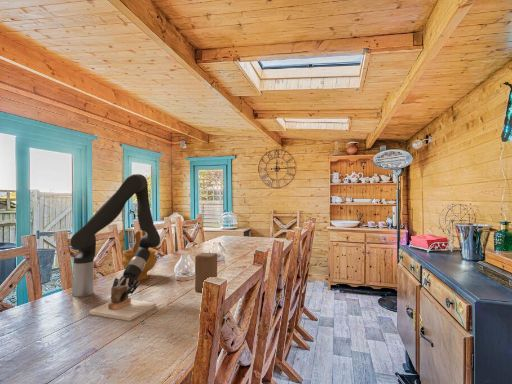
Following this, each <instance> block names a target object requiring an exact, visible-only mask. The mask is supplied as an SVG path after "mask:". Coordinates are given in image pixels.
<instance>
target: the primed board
mask: <svg viewBox="0 0 512 384" xmlns="http://www.w3.org/2000/svg"><path fill="white" fill-rule="evenodd" d="M110 302H111V301H108V302H107V303H104V304H101V305H100V306H97V307H95V308H92V309H90V310H89V311H88V314H89V315H93V316H97V317H98V316H99V317H104V318H110V319H117V320H122V321H128V322H131V321H132V320H134V319H135V318H138V317H140V316H141V315H143V314H145V313H147V312H149V311H150V310H152V309H154V308H155V307H157V302H152V301H145V300H144V301H143V300H137V299H131V303H130V304H128V305H126V306H124V307H122V308H120V309H118V310H113V309H108V303H110Z"/></svg>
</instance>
